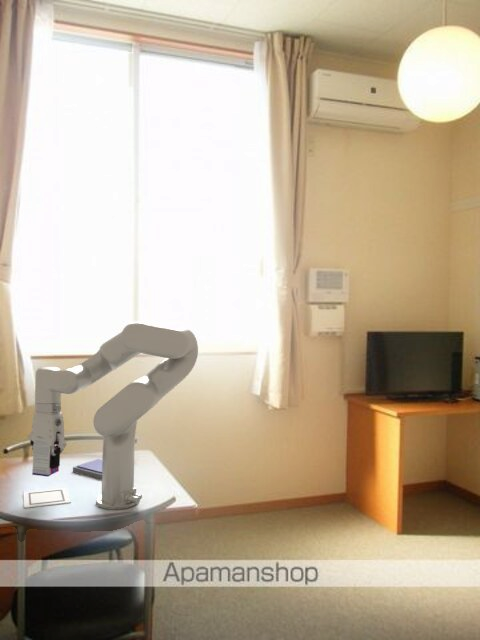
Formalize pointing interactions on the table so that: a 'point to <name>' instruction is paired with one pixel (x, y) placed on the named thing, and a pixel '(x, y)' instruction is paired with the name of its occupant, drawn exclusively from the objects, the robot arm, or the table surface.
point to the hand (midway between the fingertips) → (46, 464)
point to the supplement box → (42, 458)
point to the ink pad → (90, 469)
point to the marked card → (46, 497)
